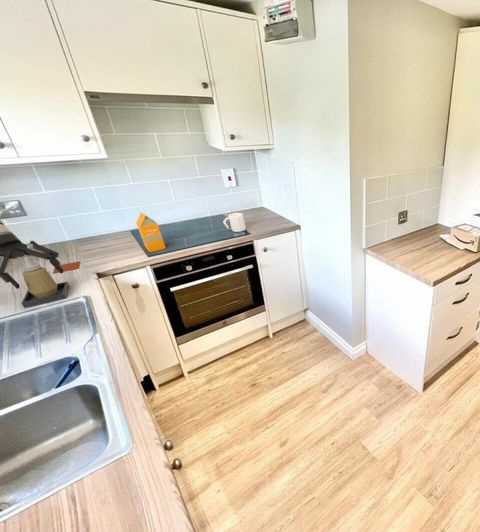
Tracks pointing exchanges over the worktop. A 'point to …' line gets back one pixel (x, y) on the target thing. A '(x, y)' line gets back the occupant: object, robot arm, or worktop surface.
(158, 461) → the worktop surface
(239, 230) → the mug
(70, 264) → the mat
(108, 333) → the worktop surface
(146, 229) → the orange juice
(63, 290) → the tray
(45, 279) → the squeeze bottle
